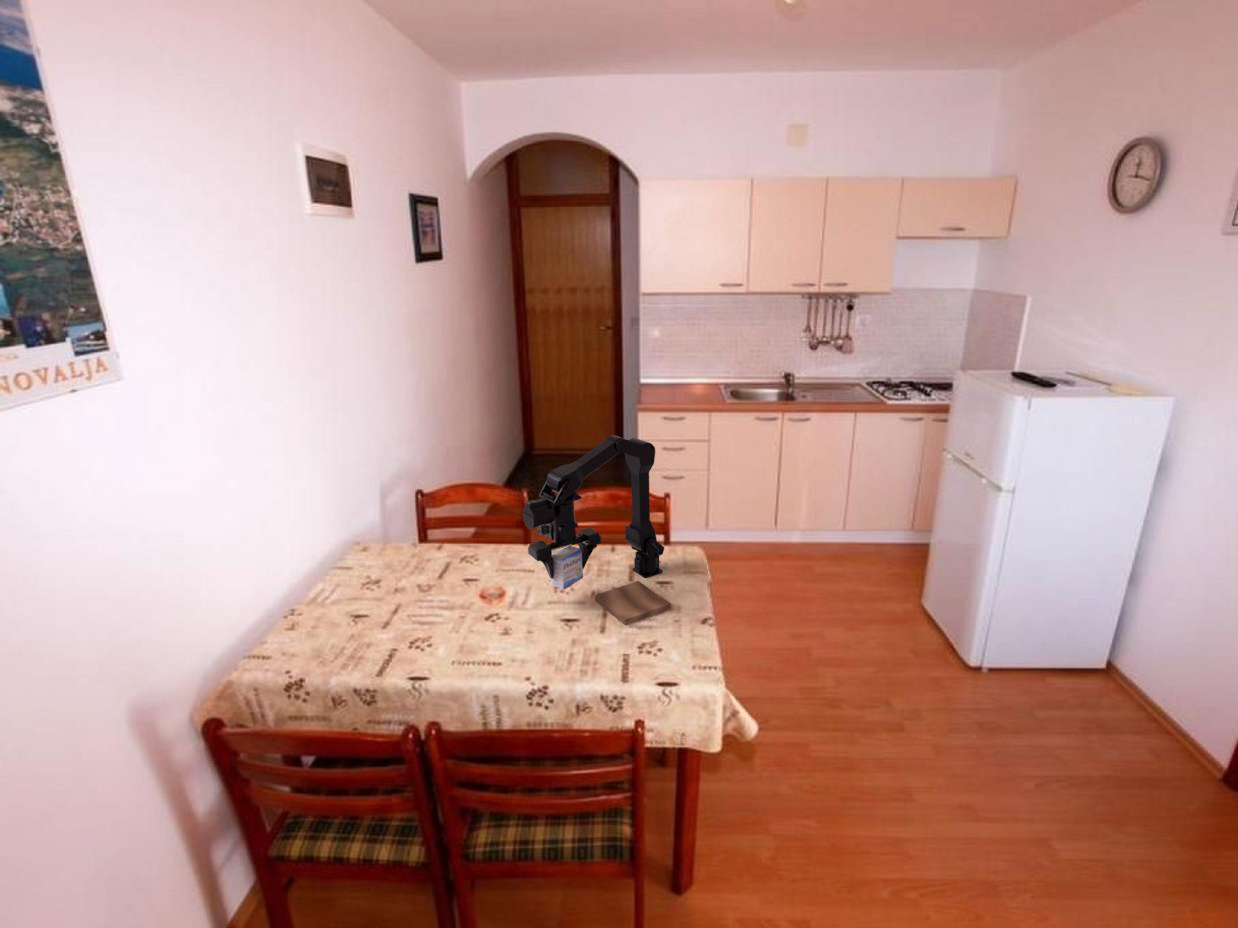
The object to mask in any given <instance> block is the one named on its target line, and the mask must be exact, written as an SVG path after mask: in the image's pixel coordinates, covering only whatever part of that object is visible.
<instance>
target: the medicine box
mask: <svg viewBox="0 0 1238 928" xmlns="http://www.w3.org/2000/svg"><path fill="white" fill-rule="evenodd" d="M551 557H552V558H553V568H554V575H553V579H551V578H550V581H551V586H553V587H555V588H558V589H561V590H566V589H568V588H569V587H570V586H571V587H572V585H573V584H574V585H575V583H577V582H579V581H580V580H582V579H583V578H584V573H583V570H584V569H583V568H582V550H581V549H579V547H577V546H574V545H571V546H567V547H564V548H562V549H561V550H558V551H557V552H555V553H552V555H551Z"/></svg>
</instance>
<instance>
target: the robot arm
mask: <svg viewBox="0 0 1238 928" xmlns="http://www.w3.org/2000/svg"><path fill="white" fill-rule="evenodd" d="M620 453H622V454H624V459H625V462H626V465H627V466H628V468H629V470H630V477H631V481H630V482H631V483H630V484H631V510H632V511H631V513H632V514H631V517H632V520H631V522H630V523H629V524H628V525H625V527H624V530H625V535H624V539H625V540H626V542H627V544H629V546H630V547H631V549H632V550H634V551H635V552H634V553H635V556H634V560H633V561H634V562H633V563H634V567H632V571H634V572H635V573H637V574H638V575H640V576H641V577H642V578H645V579H646V578H649V577H653V576H656V575H658V574H661V573H663V569H661V568H660V556H662V555H663V554H664V551H665V547H664V546H663V544H661V543H660V542H658V541H657V540H658V539H657V534H656V529H655V527H654V525H653V523H652V521H651V507H650V505H651V503H650V502H651V501H650V500H651V499H650V498H651V497H650V496H651V495H650V471H651V470H652V468H653V466H654V465H655V459H656V447H655V445H653V443H651V442H648V441H645V440H642V439H639V438H636V437H631V439H626V438H624V437H621V436H618V435H615V434H612V435H609V436H608V437H607V438H606V439H605V440H604V441H603V442H600V443H599V444H597V446H595V447H594V448H592V449H591V450H589V451H588V452H587V453H585V454H584V455H582V456H581V457H579V458H578V459H576V460H575V461H573V462H572V463H568V464H567V463H566V464H563V465H560V466H558V467H556V468H554V469H552V470H551V471H550V472H549V473H548V474H547V477H546V481H545V482H544V485H543V486H542V488H541V490H540V492H539V494H538V497H540V498H538V499H534V500H528V501H527V500H526V502H525V506H524V507H523V509H522V519H523V523H524V525H525V526H526V528H527V529H528V530H532V529H535V528H536V530H537V534H538V536H544V537H545V538H547V537H548V538H549V540H550V541H553V542H550V543H547V542H545V541H544V540H540V541H535V542H531V543H530V544H529V545H528V547H527V552H528V555H529V556H531V557H532V558H533V559H534V560H535V561H536V562H541V563H542V564H543V566H544V567H545V570H546V572H547V574H548V577H549V578H550V580H551V579H553V575H554V568H553V558H552V557H551V555H553V551H557V550H560V549H564V548H566V547H568V546H575V545H578V548H579V549H581V550H582V568H583V570H584V569H585V567H586V564H587V562H588V560H589V558H590V556H591V555H592V553H593V551H594V549H596V548H597V547H598V545H599V544H602V534H600V532H598V531H597V530H595V529H594V528H592V527H591V526H590V527H587V528H583V529H579V530H578V531H576V529H577V528H578V526H579V525H578V524H579V523H578V522H576V513H575V512H576V511H575V501H578V500H582V496H581V495H580V494H578V493H577V490H579V489H580V487H582V486H583V483H584V481H585V479H586V478H587V477H588V476H590V475H591V474H592V473H594V472H595V471H596V470H598V469H599V468H600V467H602V466H603V465H605V464H606V463H607V462H609V461H610V460H612V459H613V458H615V457H616V456H617V455H619V454H620ZM552 492H554V493H556V494H557V495H556V494H554V493H552ZM576 532H577V535H576Z"/></svg>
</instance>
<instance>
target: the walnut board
mask: <svg viewBox="0 0 1238 928" xmlns="http://www.w3.org/2000/svg"><path fill="white" fill-rule="evenodd" d="M594 601H595V602H596V603H598V604H599V606H601V607H602V608H603V609H605V610H606V611H607V612H609V613H610V614H611V615H612V616H613V617H615V618H616V619H617V620H618V621H620V622H621V623H622V624H623V625H624V626H627V625H630V624H632V623H636V622H638V621H640V620H641V621H642V620H644V619H646V618H648V617H649V618H650V617H652V616H654V615H657V614H660V613H663V612H666V611H668V610H670V609H671V608H672V603H671V602H669V601H668V600H667V599H666V598H663V597H662V596H661V595H660V594H658V593H657V592H655V591H654V590H653V589H651V588H650V587H648V586H646V585H645V584H643V583H642V582H640V580H636V581H634V582H630V583H628V584H625V585H624V584H623V585H620V586H618V587H616V588H612V589H609V590H606V591H603V592H601V593H598V594H594Z"/></svg>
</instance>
